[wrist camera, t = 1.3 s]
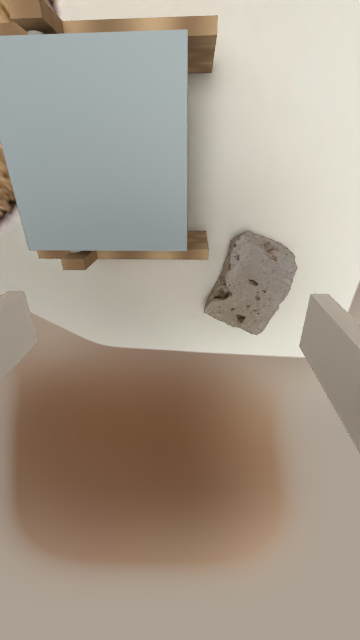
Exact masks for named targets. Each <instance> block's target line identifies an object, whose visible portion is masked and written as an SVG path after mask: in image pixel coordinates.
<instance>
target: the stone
mask: <svg viewBox="0 0 360 640" xmlns="http://www.w3.org/2000/svg"><path fill="white" fill-rule="evenodd" d="M296 270H297V266H296V263H295V256H294V254H293V253H292V252H291V251H290V250H289V249H288V248H287V247H285V246H283V245H282V244H281V243H278V242H275V241H273V240H271V239H268V238H265V237H263V236H260V235H257V234H253V233H252V232H251V231H246V232H245V233H243V234H241V235H239V236H237V237H235V238H234V239H233V240H231V242H230V250H229V253H228V256H227V258H226V260H225V263H224V266H223V272H222V273H221V274H220V277H219V280H218V281H217V283H216V285H215V287H214V289H213V291H212V293H211V294H210V296H209V298H208V300H207V303H206V305H205V308H204V313H207V314H209V315H210V316H213V317H214V318H216V319H218V320H220V321H224V322H225V323H226V324H228V325H231V326H232V327H238V328H241V329H243V330H245V331H247V332H249V333H251V334H255V335H258V334H259V333H261V332H262V331H263V330H264V329H265V327H266V326H267V324H268V322H269V320H270V319H271V317H272V316H273V315H274V313H275V312H276V311H277V310H278V308H279V304H280V303H281V302H282V301H283V300H284V299H285V298H286V296H287V295H288V292H289V290H290V287H291V284H292V281H293V277H294V275H295V272H296Z"/></svg>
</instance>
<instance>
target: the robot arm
mask: <svg viewBox="0 0 360 640" xmlns="http://www.w3.org/2000/svg"><path fill="white" fill-rule="evenodd" d="M37 342H38V338H37V334H36V331H35V328H34V324H33V321H32V317H31V314H30V310H29V307H28V304H27V300H26V297H25V293H24V291H8V292H6V293H5V294H3V295H2V296H0V382H1V381H2V380H3V379H4V378H5V377H6V376H7V375H8V374H9V373H10V371H11V370H12V369H13V368H14V367H15V366H16V365H17V364H18V363H19V362H20V361H21V360H22V359H23V357H24V356H25V355H26V354H27V353H28V352H29V351H30V350H31V349H32V348H33V347H34V346H35V344H36V343H37ZM299 347H300V349H301V350H302V352H303V354H304V356H305V357H306V359H307V361H308V363H309V364H310V366H311V368H312V370H313V371H314V373H315V375H316V377H317V378H318V380H319V382H320V384H321V386H322V387H323V389H324V391H325V393H326V394H327V396H328V398H329V400H330V401H331V403H332V405H333V407H334V409H335V410H336V412H337V414H338V416H339V417H340V419H341V421H342V422H343V424H344V426H345V428H346V429H347V431H348V433H349V435H350V437H351V439H352V440H353V442H354V444H355V446H356V447H357V449H358V451H359V453H360V324H359V323H358V322H357V321H356V320H354V318H353V317H351V315H349V314H348V313H347V312H346V311H345V310H344V309H343V308H342V307H341V306H340V305H339V304H338V303H337V302H336V301H335V300H334V299H333V298H332V297H331V296H330V295H329V294H311V295H310V299H309V304H308V308H307V313H306V318H305V322H304V327H303V331H302V336H301V341H300V345H299Z"/></svg>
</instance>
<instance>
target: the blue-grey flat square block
mask: <svg viewBox="0 0 360 640" xmlns="http://www.w3.org/2000/svg"><path fill="white" fill-rule="evenodd" d="M0 141H1V145H2V149H3V153H4V156H5V160H6V164H7V168H8V172H9V176H10V179H11V183H12V187H13V191H14V195H15V199H16V203H17V206H18V210H19V214H20V218H21V222H22V226H23V229H24V233H25V237H26V241H27V245H28V249H29V250H70V252H71V253H77V252H81V251H187V145H188V31H187V29H183V30H154V31H125V32H96V33H67V34H43V33H42V32H39V31H34V30H32V31H28V35H9V36H0Z"/></svg>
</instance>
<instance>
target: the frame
mask: <svg viewBox="0 0 360 640" xmlns="http://www.w3.org/2000/svg"><path fill="white" fill-rule="evenodd" d="M7 4H8V8H9V13H10V18H11V20H13V21H14V22H15V23H0V36H9V35H28V31H32V30H34V31H39V32H42V33H43V34H67V33H96V32H125V31H154V30H183V29H187V31H188V73H211V71H212V65H213V58H214V51H215V45H216V38H217V21H218V15H215V16H188V17H161V18H134V19H106V20H79V21H62V20H61V19H60V18H59V17H58V16H57V15H56V14H55V13H54V12H53V11H52V9H51V8H50V7H49V6H48V5H47V4H46V3H45V2H44V1H43V0H7ZM208 251H209V249H208V242H207V235H206V231H187V251H81V252H77V253H71V252H70V250H37V253H38V257H39V258H45V259H61V261H62V266H63V270H86V269H87V268H88V267H89V266H90V265H91V264H92V263H93V262H95V261H96V260H97V259H196V260H208Z"/></svg>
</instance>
